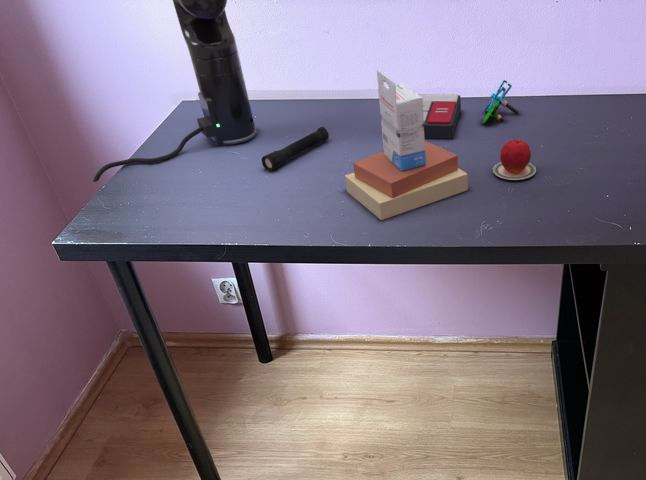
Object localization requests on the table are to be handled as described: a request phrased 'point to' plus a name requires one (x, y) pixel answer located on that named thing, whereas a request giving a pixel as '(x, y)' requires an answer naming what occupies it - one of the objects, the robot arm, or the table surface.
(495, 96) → the stick construction toy
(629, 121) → the table surface
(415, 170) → the book stack
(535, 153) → the table surface
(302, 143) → the flashlight
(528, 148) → the apple
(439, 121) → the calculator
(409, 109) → the ink box
